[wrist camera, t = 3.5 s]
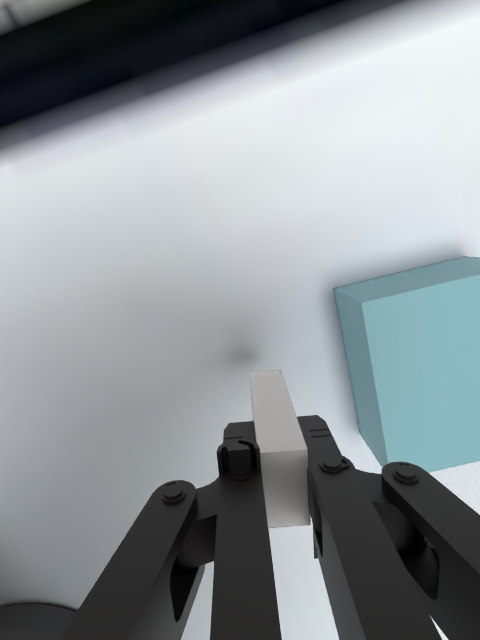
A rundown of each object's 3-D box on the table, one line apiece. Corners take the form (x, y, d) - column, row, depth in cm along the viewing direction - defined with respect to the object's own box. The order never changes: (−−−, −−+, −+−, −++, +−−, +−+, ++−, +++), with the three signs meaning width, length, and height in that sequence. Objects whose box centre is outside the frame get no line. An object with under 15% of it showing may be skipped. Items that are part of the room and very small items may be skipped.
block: (359, 432, 25) (391, 481, 20) (332, 287, 22) (361, 302, 17) (477, 404, 24) (539, 447, 20) (462, 256, 22) (528, 262, 17)
